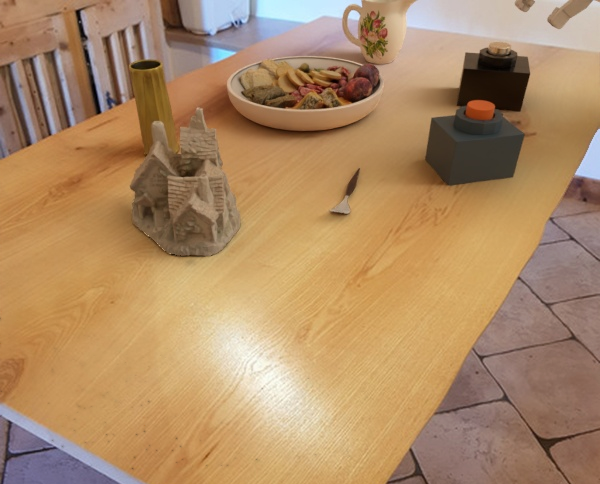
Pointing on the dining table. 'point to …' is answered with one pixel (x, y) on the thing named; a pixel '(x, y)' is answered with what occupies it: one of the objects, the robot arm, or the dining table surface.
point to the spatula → (344, 206)
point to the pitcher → (379, 28)
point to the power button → (499, 49)
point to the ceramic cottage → (185, 192)
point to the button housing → (473, 148)
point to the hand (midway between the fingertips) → (535, 16)
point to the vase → (152, 101)
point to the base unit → (494, 79)
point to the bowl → (305, 92)
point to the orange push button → (480, 110)
